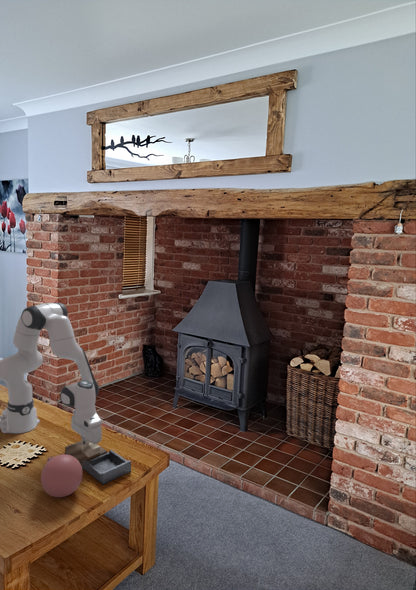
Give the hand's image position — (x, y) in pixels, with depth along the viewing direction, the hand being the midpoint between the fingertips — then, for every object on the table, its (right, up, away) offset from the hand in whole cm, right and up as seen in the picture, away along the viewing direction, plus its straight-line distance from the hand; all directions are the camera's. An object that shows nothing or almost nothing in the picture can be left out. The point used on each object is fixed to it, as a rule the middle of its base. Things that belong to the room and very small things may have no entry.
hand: (85, 445), depth 195 cm
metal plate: (0, -5, 0) cm, 5 cm away
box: (+12, -7, -11) cm, 18 cm away
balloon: (-3, -9, -26) cm, 27 cm away
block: (+3, -2, -3) cm, 5 cm away
